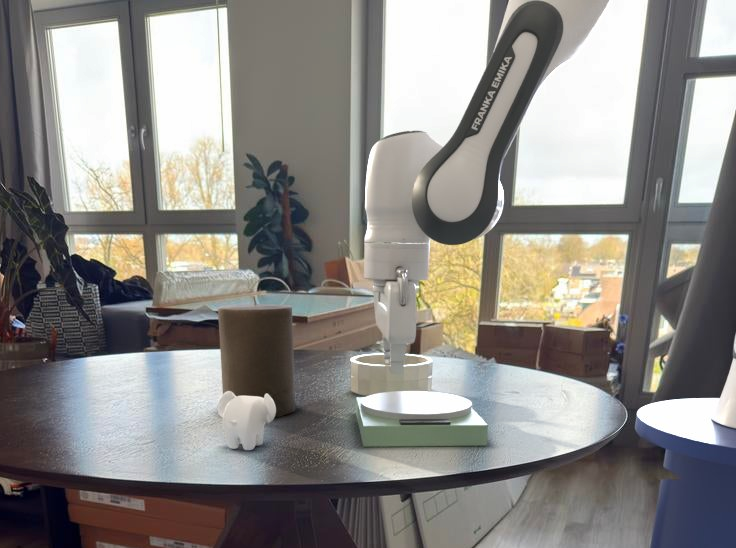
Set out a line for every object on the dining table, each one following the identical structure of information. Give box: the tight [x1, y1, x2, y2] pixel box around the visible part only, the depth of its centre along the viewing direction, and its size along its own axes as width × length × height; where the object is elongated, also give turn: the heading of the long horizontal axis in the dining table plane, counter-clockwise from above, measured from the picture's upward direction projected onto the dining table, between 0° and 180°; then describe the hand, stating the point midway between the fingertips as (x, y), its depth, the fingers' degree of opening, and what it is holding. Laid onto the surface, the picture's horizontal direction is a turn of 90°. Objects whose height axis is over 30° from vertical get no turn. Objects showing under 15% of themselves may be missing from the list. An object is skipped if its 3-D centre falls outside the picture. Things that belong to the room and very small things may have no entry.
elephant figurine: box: [216, 391, 276, 451], centre depth 80 cm, size 7×8×6 cm
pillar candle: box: [217, 295, 296, 418], centre depth 96 cm, size 10×10×15 cm
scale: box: [355, 391, 489, 448], centre depth 88 cm, size 14×16×3 cm
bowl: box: [349, 353, 434, 397], centre depth 109 cm, size 12×12×5 cm
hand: (392, 368), depth 103 cm, fingers open, 8 cm apart
